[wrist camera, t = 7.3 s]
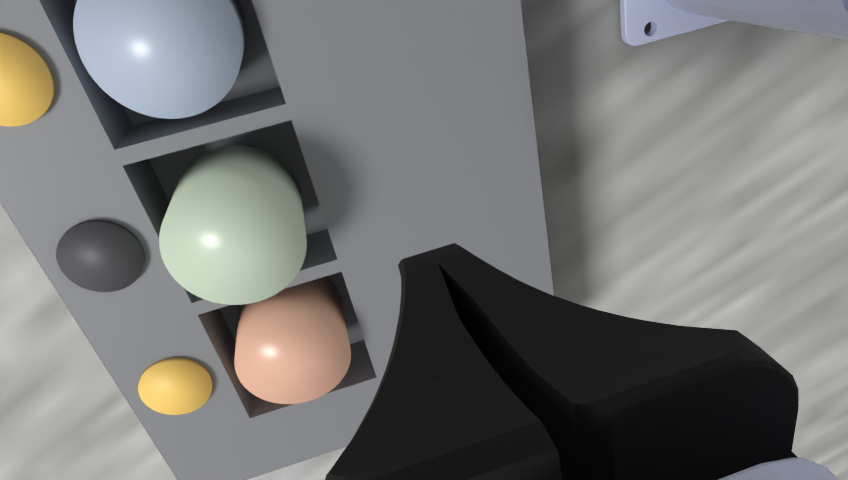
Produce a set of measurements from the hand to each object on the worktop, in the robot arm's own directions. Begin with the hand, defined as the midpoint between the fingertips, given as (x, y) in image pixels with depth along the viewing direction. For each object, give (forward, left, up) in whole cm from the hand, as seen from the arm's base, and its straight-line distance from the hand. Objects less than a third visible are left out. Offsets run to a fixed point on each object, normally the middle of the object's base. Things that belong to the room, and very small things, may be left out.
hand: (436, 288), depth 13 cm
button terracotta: (+5, +5, -9) cm, 12 cm away
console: (+3, 0, -10) cm, 11 cm away
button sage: (+5, 0, -8) cm, 9 cm away
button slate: (+5, -6, -9) cm, 12 cm away
